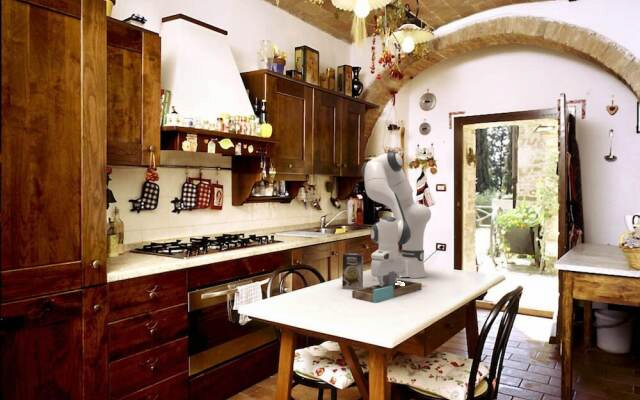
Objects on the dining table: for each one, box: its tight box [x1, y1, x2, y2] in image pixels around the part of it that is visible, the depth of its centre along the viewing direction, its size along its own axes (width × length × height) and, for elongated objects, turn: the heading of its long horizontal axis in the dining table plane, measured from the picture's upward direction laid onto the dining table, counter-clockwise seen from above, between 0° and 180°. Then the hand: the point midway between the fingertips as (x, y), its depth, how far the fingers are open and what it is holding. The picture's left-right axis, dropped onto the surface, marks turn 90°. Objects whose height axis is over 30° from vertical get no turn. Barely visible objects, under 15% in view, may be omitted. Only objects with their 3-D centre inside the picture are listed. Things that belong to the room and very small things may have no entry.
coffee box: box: [341, 252, 364, 290], centre depth 216 cm, size 9×6×16 cm
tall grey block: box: [382, 271, 395, 290], centre depth 204 cm, size 4×4×10 cm
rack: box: [351, 279, 422, 304], centre depth 204 cm, size 12×35×5 cm, turn 135°
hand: (388, 284), depth 204 cm, fingers open, 8 cm apart
